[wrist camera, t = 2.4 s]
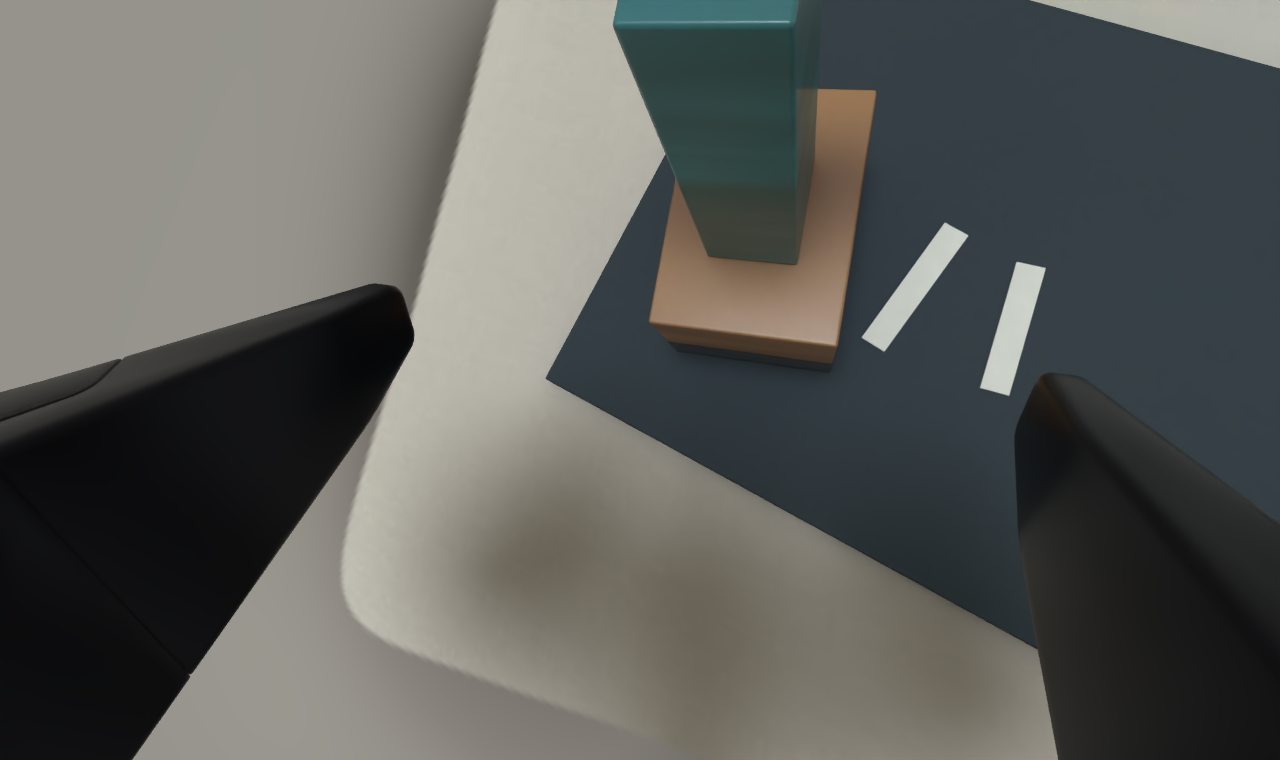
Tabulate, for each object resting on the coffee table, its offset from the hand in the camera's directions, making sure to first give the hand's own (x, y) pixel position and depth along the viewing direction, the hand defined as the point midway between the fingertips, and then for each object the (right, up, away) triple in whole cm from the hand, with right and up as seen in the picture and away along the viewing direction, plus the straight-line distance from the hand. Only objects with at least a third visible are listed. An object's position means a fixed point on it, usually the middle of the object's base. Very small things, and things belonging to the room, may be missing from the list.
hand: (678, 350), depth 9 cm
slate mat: (+10, +3, +11) cm, 15 cm away
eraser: (+4, +4, +12) cm, 13 cm away
